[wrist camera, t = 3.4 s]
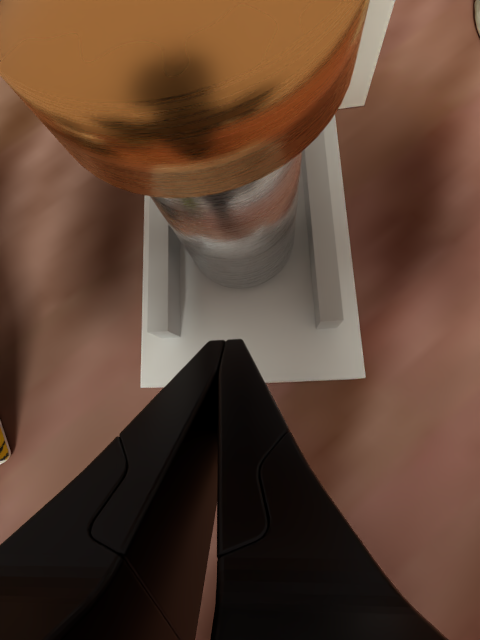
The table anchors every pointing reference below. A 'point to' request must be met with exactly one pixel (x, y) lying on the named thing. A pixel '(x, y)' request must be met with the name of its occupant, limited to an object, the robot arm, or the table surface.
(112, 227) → the table surface
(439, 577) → the table surface
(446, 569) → the table surface
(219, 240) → the knob
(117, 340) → the table surface
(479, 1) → the coffee can
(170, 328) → the knob mount
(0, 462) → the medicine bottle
